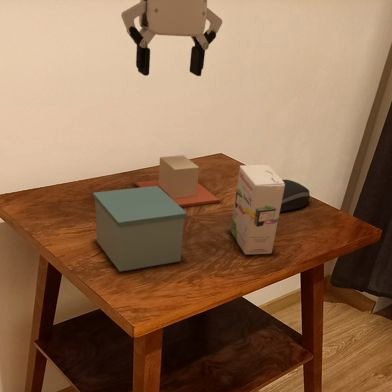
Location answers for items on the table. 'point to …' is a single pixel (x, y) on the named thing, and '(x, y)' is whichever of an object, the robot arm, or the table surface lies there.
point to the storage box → (139, 227)
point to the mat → (200, 199)
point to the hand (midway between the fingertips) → (169, 74)
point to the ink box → (257, 208)
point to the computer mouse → (294, 196)
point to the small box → (178, 176)
